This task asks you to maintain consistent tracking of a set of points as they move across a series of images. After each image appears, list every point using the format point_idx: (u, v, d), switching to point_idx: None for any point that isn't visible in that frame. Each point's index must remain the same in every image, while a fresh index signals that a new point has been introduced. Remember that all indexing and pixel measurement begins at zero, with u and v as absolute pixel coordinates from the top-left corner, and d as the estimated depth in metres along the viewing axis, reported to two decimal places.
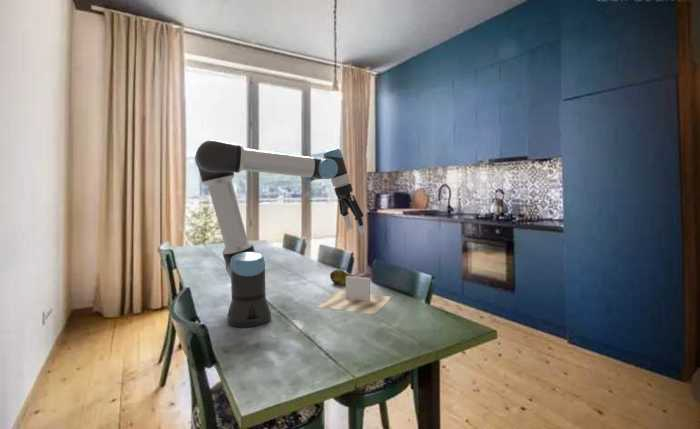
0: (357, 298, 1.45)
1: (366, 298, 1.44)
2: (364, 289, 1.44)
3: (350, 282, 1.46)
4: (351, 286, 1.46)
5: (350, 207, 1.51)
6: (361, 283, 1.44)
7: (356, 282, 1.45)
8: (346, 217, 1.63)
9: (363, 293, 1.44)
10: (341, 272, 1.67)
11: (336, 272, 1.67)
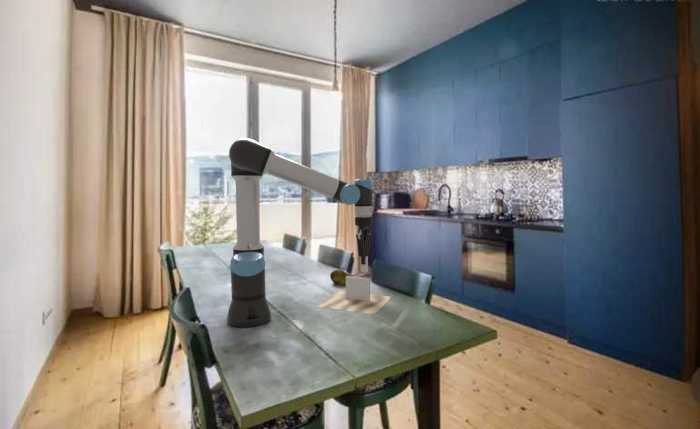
0: (357, 298, 1.45)
1: (366, 298, 1.44)
2: (364, 289, 1.44)
3: (350, 282, 1.46)
4: (351, 286, 1.46)
5: None
6: (361, 283, 1.44)
7: (356, 282, 1.45)
8: None
9: (363, 293, 1.44)
10: (341, 272, 1.67)
11: (336, 272, 1.67)
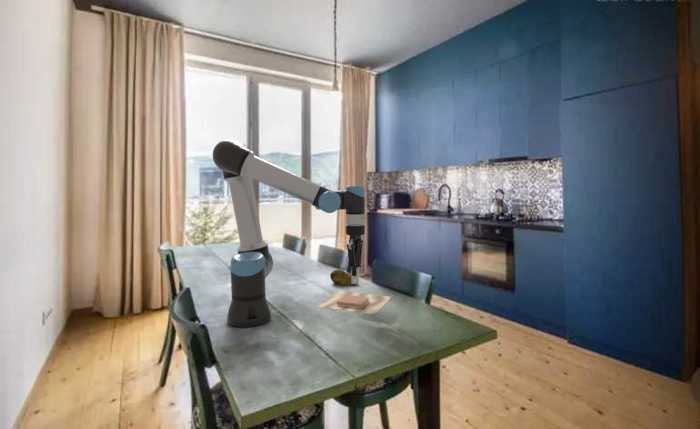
0: None
1: None
2: None
3: None
4: None
5: None
6: None
7: None
8: None
9: None
10: (341, 272, 1.68)
11: (336, 272, 1.67)
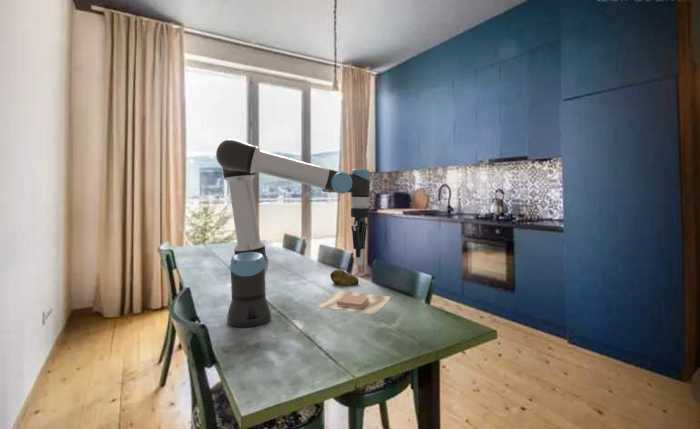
0: None
1: None
2: None
3: None
4: None
5: None
6: None
7: None
8: None
9: None
10: (341, 272, 1.68)
11: (336, 272, 1.67)
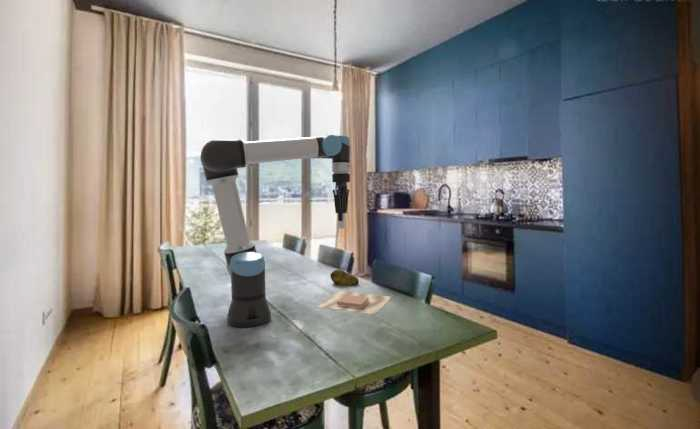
0: None
1: None
2: None
3: None
4: None
5: None
6: None
7: None
8: None
9: None
10: (341, 272, 1.68)
11: (336, 272, 1.67)
